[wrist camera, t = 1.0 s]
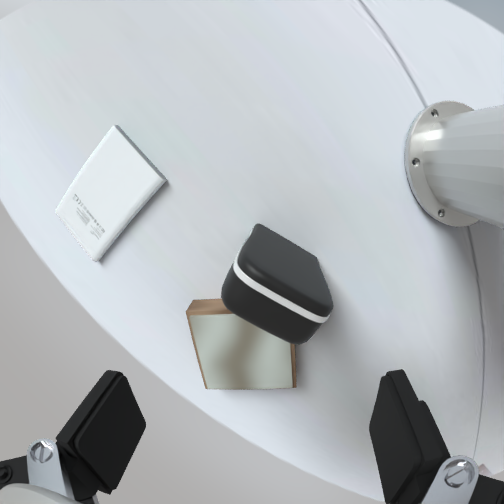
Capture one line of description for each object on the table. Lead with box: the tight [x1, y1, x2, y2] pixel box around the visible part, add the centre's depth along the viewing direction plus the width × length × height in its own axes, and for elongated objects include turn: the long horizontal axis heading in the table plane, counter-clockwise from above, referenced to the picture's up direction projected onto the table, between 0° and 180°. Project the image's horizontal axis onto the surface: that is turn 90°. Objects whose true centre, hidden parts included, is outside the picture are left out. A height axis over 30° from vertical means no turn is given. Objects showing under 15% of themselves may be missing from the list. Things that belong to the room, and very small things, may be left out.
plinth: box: [186, 299, 296, 389], centre depth 29 cm, size 10×10×3 cm
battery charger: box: [221, 224, 333, 344], centre depth 22 cm, size 7×4×11 cm, turn 60°
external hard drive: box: [55, 125, 167, 262], centre depth 27 cm, size 2×8×12 cm
